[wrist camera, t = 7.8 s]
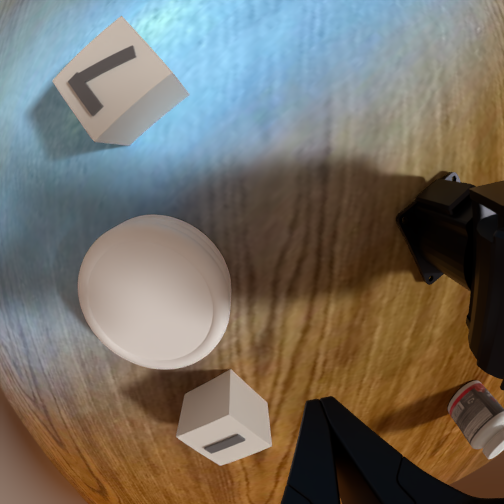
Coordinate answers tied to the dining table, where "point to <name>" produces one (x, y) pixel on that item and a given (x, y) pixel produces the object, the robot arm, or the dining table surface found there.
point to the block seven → (118, 86)
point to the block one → (224, 419)
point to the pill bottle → (479, 418)
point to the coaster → (156, 292)
